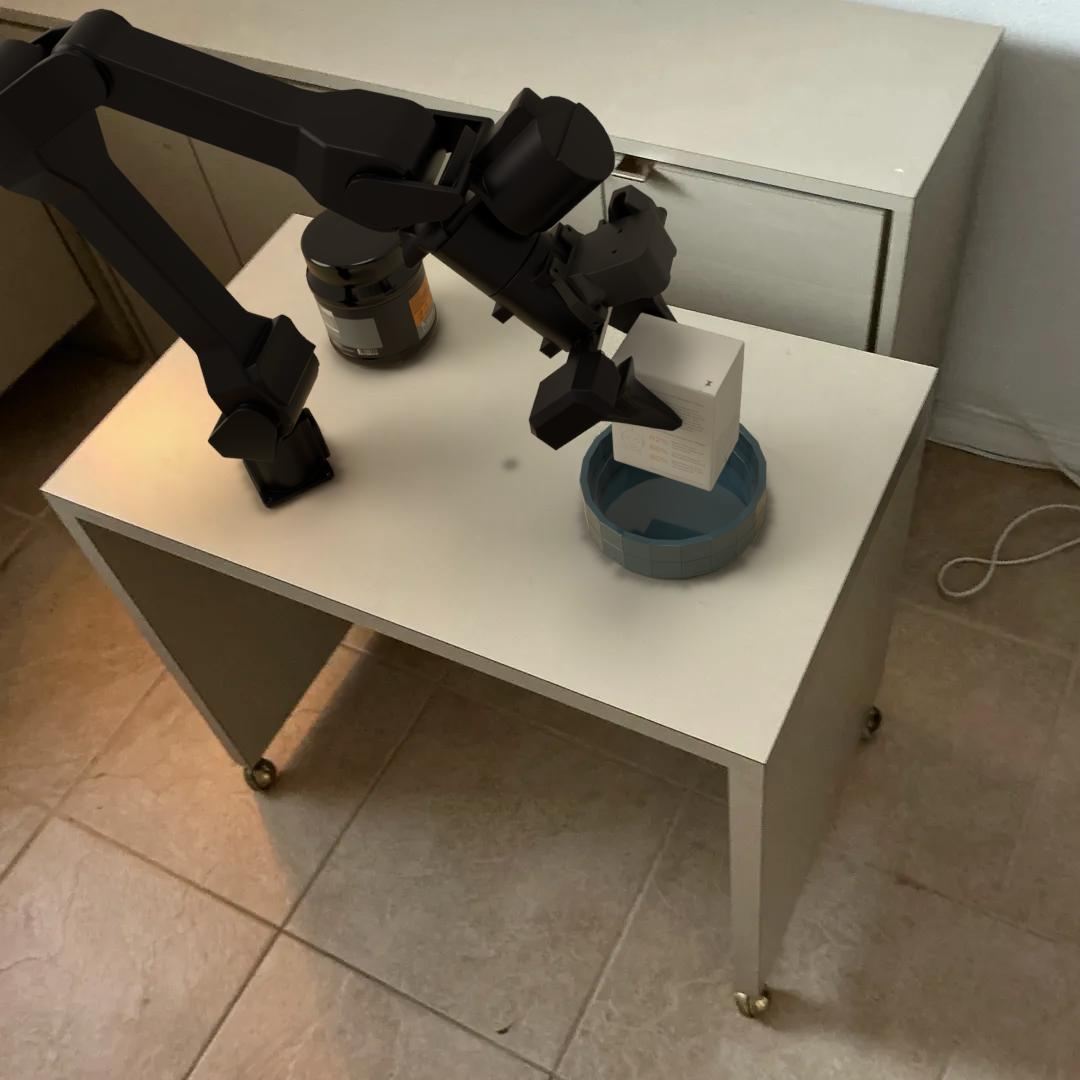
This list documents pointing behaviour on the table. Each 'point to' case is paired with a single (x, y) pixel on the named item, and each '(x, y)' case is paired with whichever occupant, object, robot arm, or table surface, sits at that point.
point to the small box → (683, 400)
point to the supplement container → (367, 292)
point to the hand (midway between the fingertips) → (685, 392)
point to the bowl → (673, 511)
